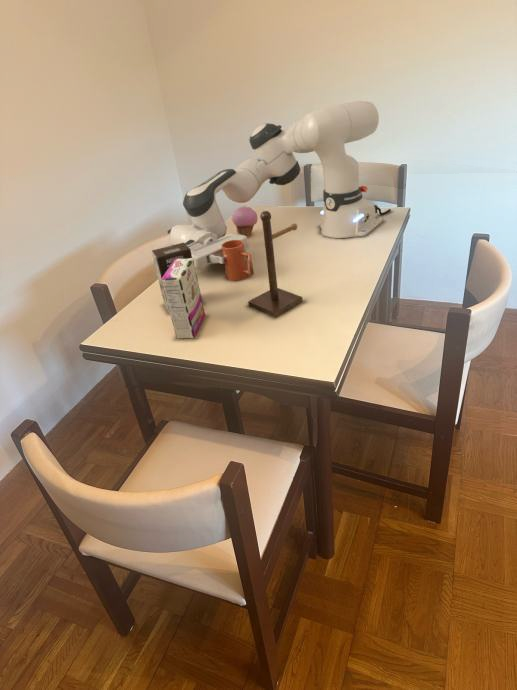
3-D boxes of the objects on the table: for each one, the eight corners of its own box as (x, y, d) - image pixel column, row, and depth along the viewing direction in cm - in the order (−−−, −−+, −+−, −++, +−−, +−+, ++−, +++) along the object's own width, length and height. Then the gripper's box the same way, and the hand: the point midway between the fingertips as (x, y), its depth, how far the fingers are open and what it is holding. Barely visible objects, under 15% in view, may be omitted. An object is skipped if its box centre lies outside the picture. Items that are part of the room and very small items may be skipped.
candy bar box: (187, 316, 126) (174, 258, 118) (206, 316, 125) (194, 257, 117) (175, 339, 117) (159, 278, 108) (194, 339, 116) (180, 277, 107)
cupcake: (254, 229, 175) (255, 202, 168) (258, 240, 168) (259, 213, 162) (230, 230, 173) (230, 203, 167) (233, 241, 167) (233, 214, 160)
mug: (222, 277, 144) (217, 245, 139) (238, 269, 148) (233, 238, 142) (245, 286, 137) (241, 253, 132) (262, 277, 141) (258, 245, 135)
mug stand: (287, 285, 135) (279, 196, 121) (314, 294, 128) (309, 202, 115) (248, 306, 127) (235, 214, 114) (275, 317, 121) (264, 221, 107)
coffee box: (170, 314, 129) (156, 257, 120) (164, 304, 134) (150, 249, 125) (202, 304, 131) (190, 248, 122) (195, 295, 136) (183, 241, 127)
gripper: (232, 244, 157) (261, 254, 148) (181, 266, 146) (208, 278, 137) (230, 225, 153) (259, 234, 144) (177, 246, 142) (205, 257, 133)
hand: (234, 256), depth 140 cm, fingers closed on mug, 6 cm apart
